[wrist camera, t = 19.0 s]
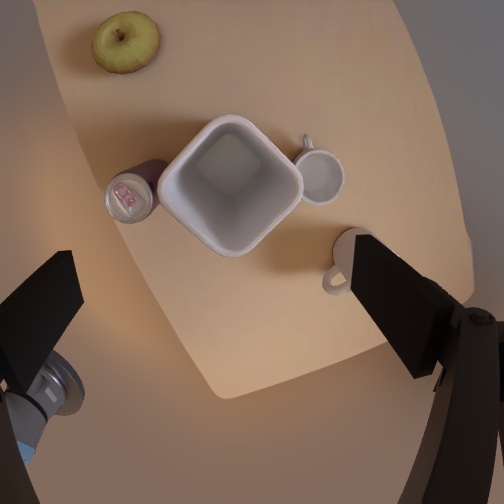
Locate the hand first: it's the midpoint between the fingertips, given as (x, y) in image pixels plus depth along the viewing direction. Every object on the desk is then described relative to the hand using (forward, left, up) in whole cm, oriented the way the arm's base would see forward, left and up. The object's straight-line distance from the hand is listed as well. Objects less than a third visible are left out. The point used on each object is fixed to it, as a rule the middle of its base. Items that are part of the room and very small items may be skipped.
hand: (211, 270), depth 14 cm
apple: (-13, +21, -36) cm, 43 cm away
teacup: (+13, 0, -35) cm, 38 cm away
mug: (+20, -14, -36) cm, 43 cm away
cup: (+1, +3, -21) cm, 21 cm away
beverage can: (-10, -1, -36) cm, 37 cm away
